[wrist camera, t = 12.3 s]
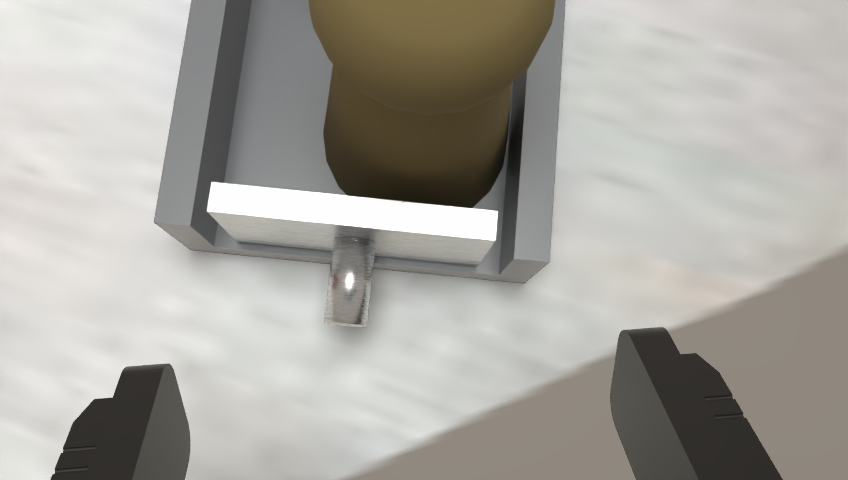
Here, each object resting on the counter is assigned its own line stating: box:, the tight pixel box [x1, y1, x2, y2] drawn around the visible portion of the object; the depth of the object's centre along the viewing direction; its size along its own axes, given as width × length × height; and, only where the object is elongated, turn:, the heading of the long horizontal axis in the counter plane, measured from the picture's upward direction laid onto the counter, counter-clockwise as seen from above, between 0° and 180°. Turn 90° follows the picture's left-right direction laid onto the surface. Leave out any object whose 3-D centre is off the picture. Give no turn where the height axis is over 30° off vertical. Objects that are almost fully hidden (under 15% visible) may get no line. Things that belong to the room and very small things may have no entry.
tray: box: [154, 0, 565, 283], centre depth 25 cm, size 11×16×4 cm
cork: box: [309, 0, 556, 209], centre depth 20 cm, size 6×6×11 cm
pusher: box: [207, 182, 498, 327], centre depth 22 cm, size 8×3×4 cm, turn 85°
